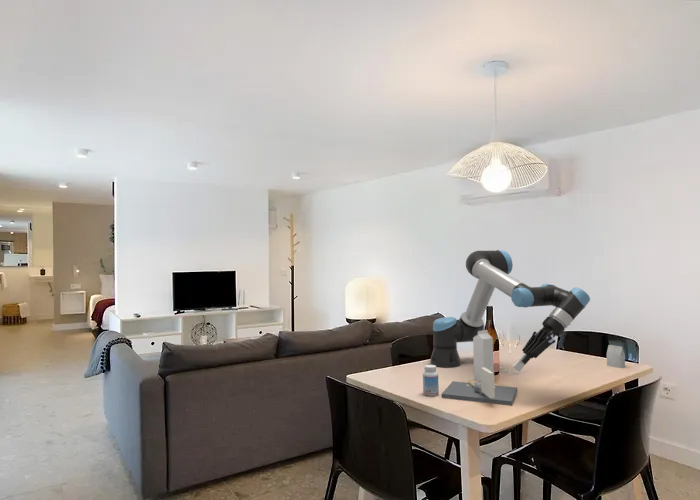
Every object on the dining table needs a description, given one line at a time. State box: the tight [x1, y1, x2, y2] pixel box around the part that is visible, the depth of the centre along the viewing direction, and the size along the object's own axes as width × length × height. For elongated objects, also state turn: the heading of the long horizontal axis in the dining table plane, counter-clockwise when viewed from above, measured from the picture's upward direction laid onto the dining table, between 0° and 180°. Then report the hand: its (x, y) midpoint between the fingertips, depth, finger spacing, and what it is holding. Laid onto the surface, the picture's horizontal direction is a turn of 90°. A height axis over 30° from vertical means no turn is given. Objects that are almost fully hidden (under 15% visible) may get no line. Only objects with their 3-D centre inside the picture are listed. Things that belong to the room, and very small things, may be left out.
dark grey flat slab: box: [441, 380, 518, 406], centre depth 184 cm, size 26×20×2 cm
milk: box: [472, 329, 495, 382], centre depth 205 cm, size 6×6×22 cm
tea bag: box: [606, 344, 626, 369], centre depth 227 cm, size 4×7×10 cm, turn 31°
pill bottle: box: [422, 364, 440, 397], centre depth 186 cm, size 6×6×11 cm
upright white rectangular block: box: [467, 368, 495, 398], centre depth 182 cm, size 25×4×10 cm, turn 5°
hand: (515, 368), depth 174 cm, fingers closed
